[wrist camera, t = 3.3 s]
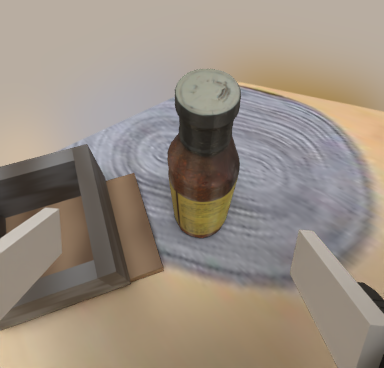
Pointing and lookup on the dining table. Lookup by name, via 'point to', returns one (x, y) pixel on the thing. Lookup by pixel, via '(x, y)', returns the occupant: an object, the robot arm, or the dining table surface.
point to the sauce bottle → (204, 151)
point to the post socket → (78, 229)
